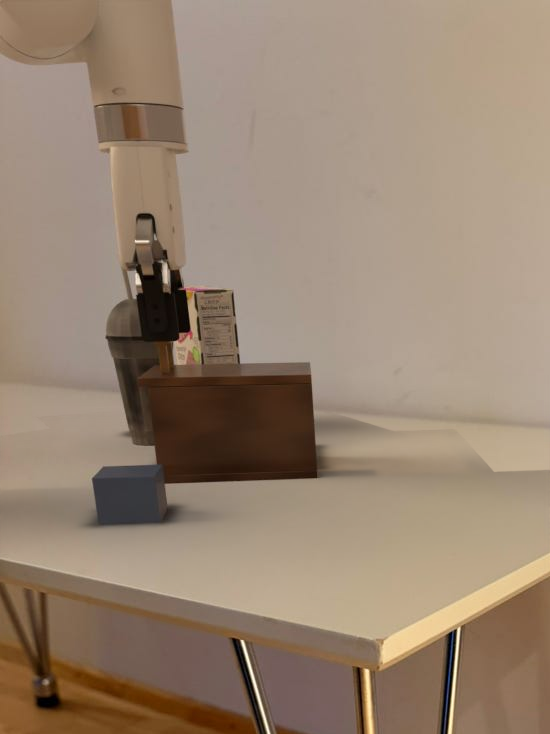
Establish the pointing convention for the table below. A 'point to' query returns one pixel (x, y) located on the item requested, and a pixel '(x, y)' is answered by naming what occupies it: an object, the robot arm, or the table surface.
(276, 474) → the chest
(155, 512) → the block
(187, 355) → the candy bar box
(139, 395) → the beverage cup
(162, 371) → the lid
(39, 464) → the table surface
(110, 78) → the robot arm
